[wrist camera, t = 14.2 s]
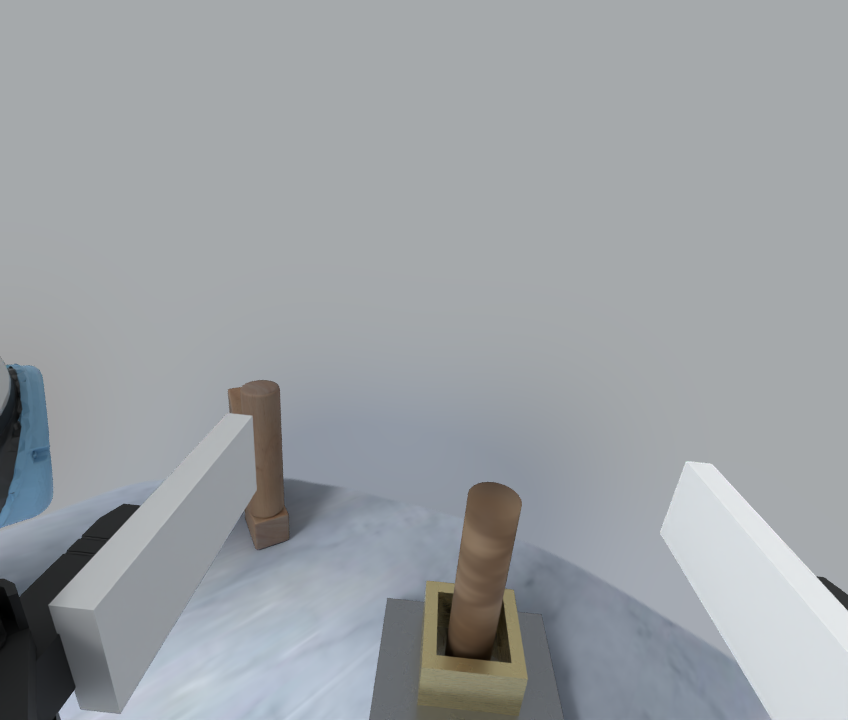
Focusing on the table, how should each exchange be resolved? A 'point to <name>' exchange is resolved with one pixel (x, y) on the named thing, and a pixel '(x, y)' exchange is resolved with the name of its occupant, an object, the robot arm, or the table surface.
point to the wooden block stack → (264, 461)
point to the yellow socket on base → (461, 666)
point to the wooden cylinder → (482, 569)
